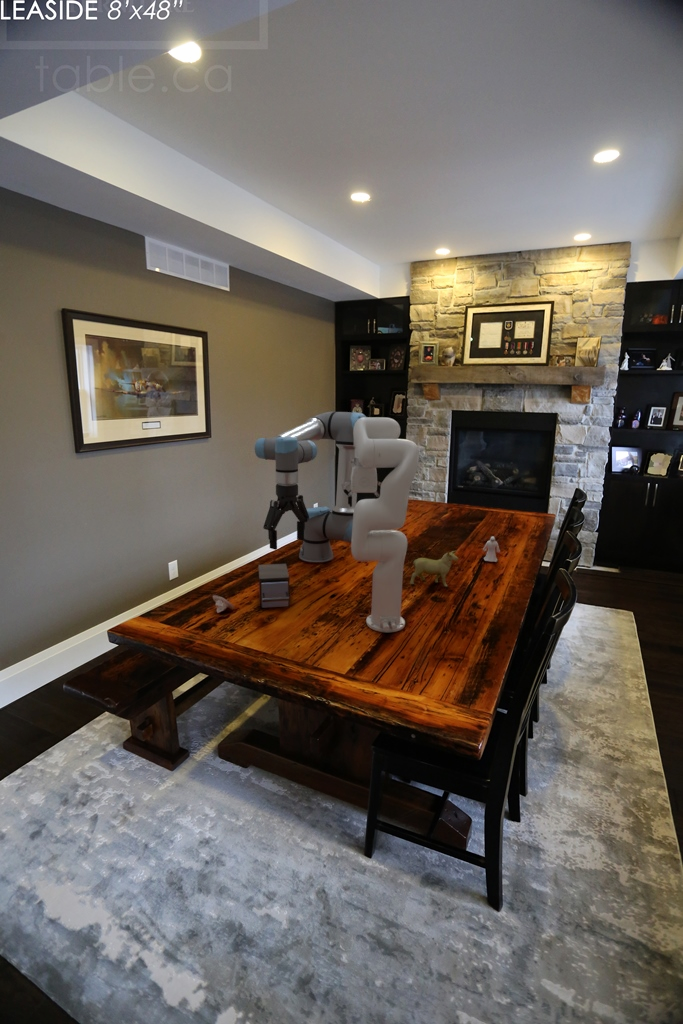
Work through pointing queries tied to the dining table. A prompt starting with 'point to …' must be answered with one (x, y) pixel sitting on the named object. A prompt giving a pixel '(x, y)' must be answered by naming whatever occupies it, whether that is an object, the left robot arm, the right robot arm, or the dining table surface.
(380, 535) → the right robot arm
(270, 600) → the drawer
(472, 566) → the dining table surface
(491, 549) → the figurine
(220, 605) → the seashell
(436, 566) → the toy
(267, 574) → the cabinet
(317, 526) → the left robot arm
